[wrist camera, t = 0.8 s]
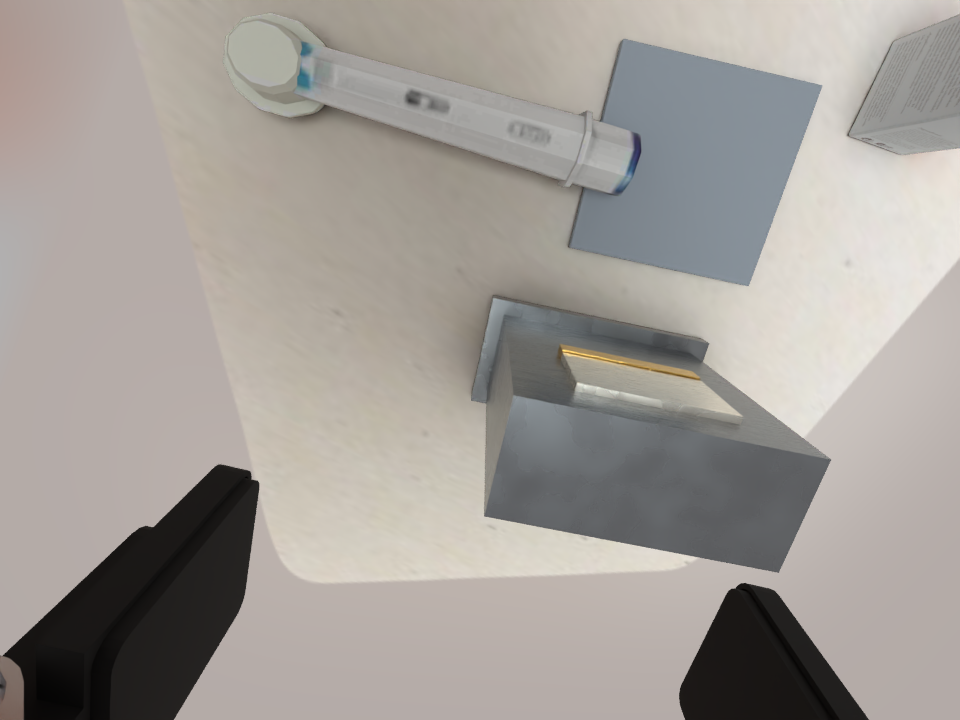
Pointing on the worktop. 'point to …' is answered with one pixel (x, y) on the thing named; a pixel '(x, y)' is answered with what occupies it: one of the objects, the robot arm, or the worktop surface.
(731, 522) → the mounted unit
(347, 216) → the worktop surface
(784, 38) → the worktop surface
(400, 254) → the worktop surface
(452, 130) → the white elongated piece
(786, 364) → the worktop surface
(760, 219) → the slate mat
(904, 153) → the skincare box
